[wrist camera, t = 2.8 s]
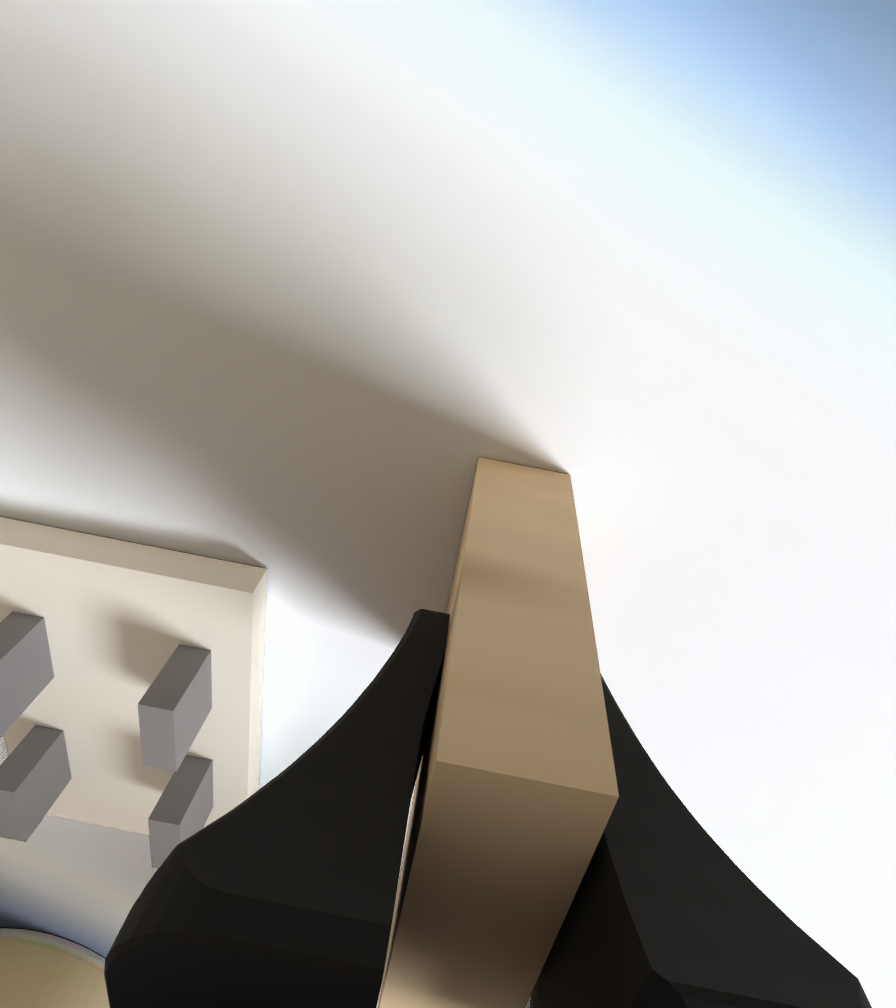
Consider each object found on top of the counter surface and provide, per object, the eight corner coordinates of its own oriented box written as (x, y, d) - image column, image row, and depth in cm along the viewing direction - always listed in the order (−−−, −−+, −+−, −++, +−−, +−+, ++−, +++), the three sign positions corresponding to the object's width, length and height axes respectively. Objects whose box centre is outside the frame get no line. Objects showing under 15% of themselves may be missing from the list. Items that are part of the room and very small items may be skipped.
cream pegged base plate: (257, 824, 21) (219, 922, 18) (42, 782, 21) (-27, 873, 18) (267, 569, 16) (217, 651, 13) (-13, 514, 16) (-118, 585, 13)
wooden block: (511, 679, 17) (504, 1053, 10) (435, 664, 17) (374, 1026, 10) (570, 475, 14) (618, 796, 7) (478, 456, 14) (435, 760, 7)
